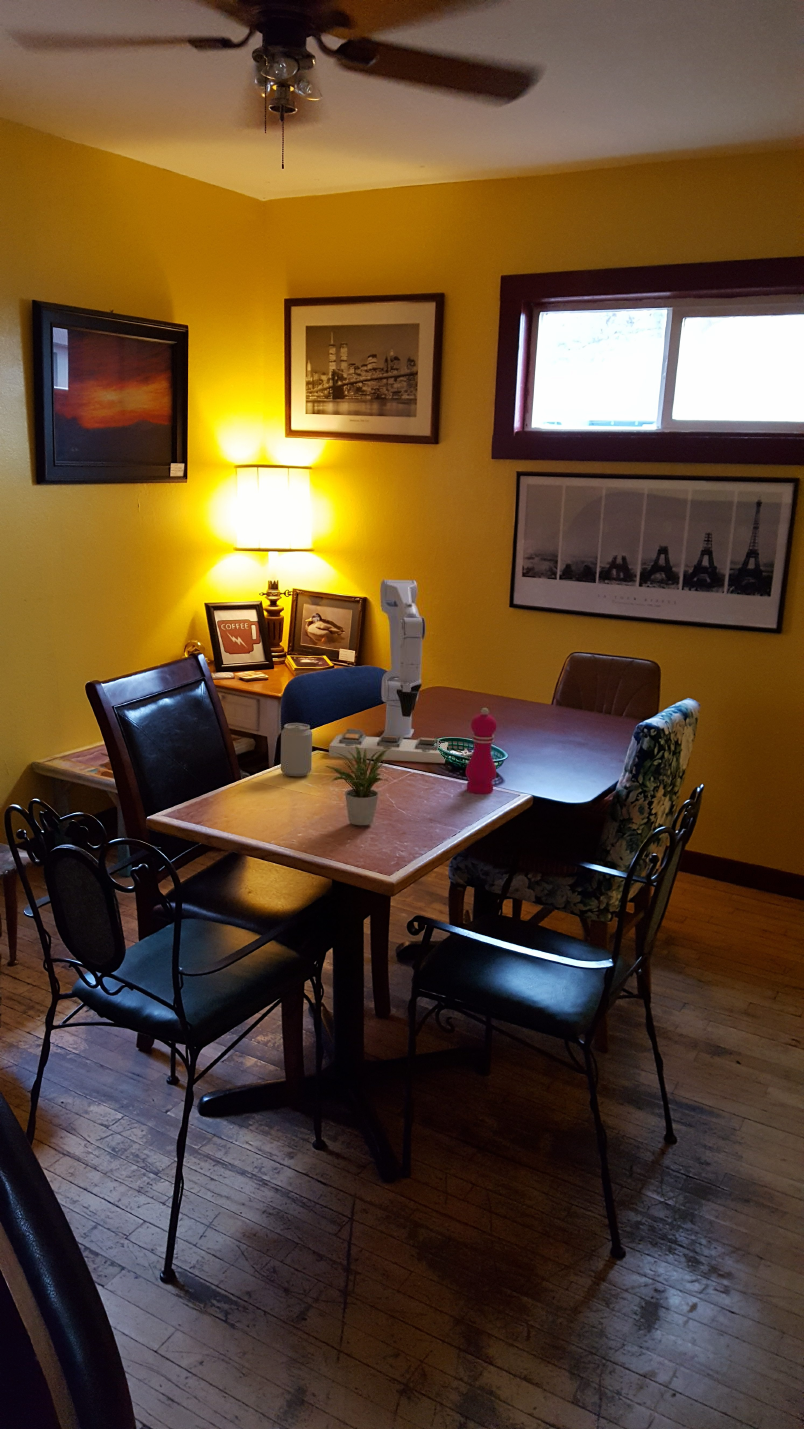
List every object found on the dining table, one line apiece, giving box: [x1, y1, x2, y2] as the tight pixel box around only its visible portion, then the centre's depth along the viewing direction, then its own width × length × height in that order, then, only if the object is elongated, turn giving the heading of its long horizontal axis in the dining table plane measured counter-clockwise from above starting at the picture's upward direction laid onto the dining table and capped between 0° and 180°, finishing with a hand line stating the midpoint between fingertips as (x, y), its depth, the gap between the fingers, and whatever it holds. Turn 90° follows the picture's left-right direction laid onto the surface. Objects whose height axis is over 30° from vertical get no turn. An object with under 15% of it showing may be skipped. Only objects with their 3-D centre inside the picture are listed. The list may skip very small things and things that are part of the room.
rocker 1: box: [344, 728, 363, 741], centre depth 270 cm, size 6×4×1 cm, turn 173°
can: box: [280, 722, 313, 777], centre depth 248 cm, size 8×8×12 cm
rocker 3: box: [419, 737, 437, 744], centre depth 268 cm, size 6×4×1 cm, turn 173°
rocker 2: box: [380, 735, 399, 742], centre depth 269 cm, size 6×4×1 cm, turn 173°
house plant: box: [325, 745, 392, 826], centre depth 215 cm, size 14×14×16 cm
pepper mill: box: [465, 707, 498, 795], centre depth 239 cm, size 7×7×20 cm
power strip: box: [328, 732, 449, 764], centre depth 268 cm, size 12×42×4 cm, turn 83°
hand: (408, 713), depth 271 cm, fingers open, 7 cm apart
